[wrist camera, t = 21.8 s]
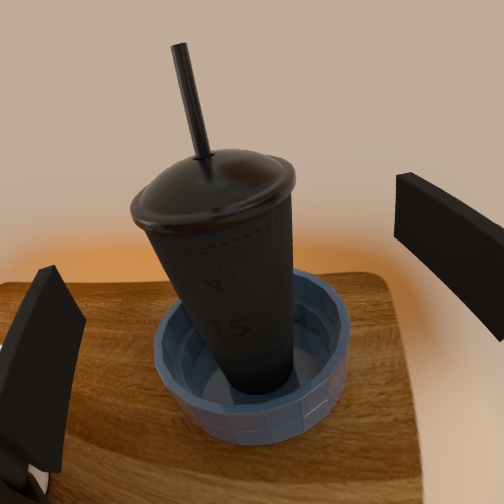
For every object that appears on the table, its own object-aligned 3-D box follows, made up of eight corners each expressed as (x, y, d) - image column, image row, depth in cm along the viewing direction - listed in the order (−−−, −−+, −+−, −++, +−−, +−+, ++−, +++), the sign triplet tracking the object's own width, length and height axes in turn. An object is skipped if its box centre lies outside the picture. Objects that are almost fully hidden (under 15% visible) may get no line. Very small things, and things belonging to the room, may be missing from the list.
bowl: (333, 304, 26) (332, 256, 23) (358, 438, 16) (368, 401, 13) (193, 319, 28) (175, 274, 25) (166, 446, 17) (131, 410, 15)
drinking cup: (203, 339, 25) (115, 71, 14) (298, 318, 25) (255, 37, 14) (209, 423, 18) (55, 74, 7) (326, 397, 18) (294, 12, 8)
